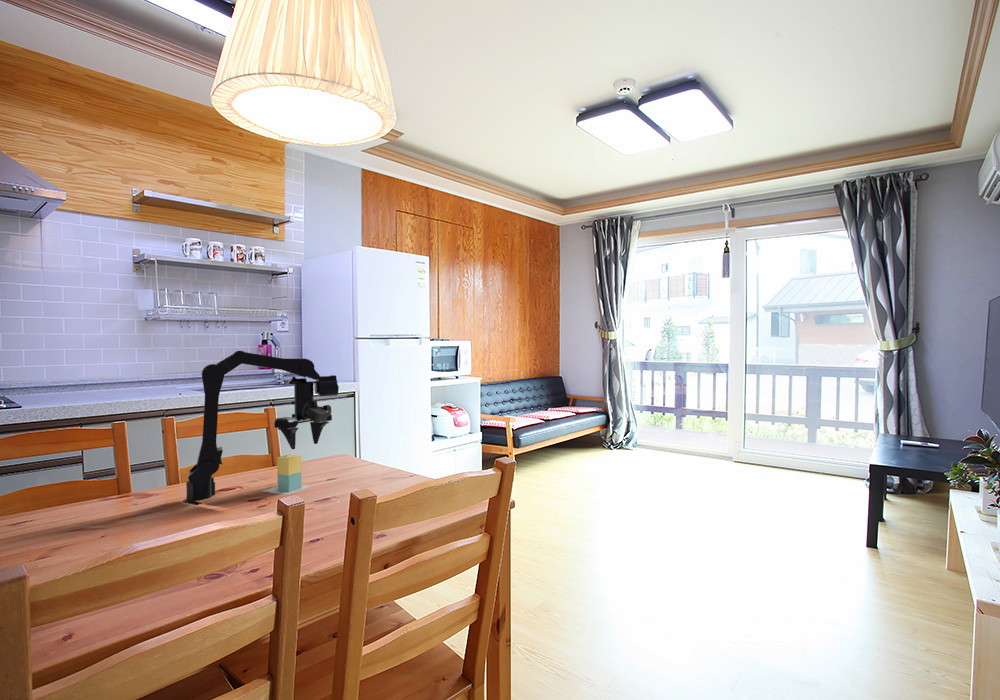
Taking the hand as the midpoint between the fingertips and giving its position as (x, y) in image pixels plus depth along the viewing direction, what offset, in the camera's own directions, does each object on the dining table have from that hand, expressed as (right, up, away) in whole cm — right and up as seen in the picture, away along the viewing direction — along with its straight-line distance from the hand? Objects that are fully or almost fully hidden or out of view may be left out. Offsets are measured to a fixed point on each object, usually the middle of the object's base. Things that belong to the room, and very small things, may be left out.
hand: (304, 446), depth 162 cm
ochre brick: (-2, -7, -7) cm, 10 cm away
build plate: (-3, -13, -6) cm, 14 cm away
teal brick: (-2, -12, -7) cm, 14 cm away
